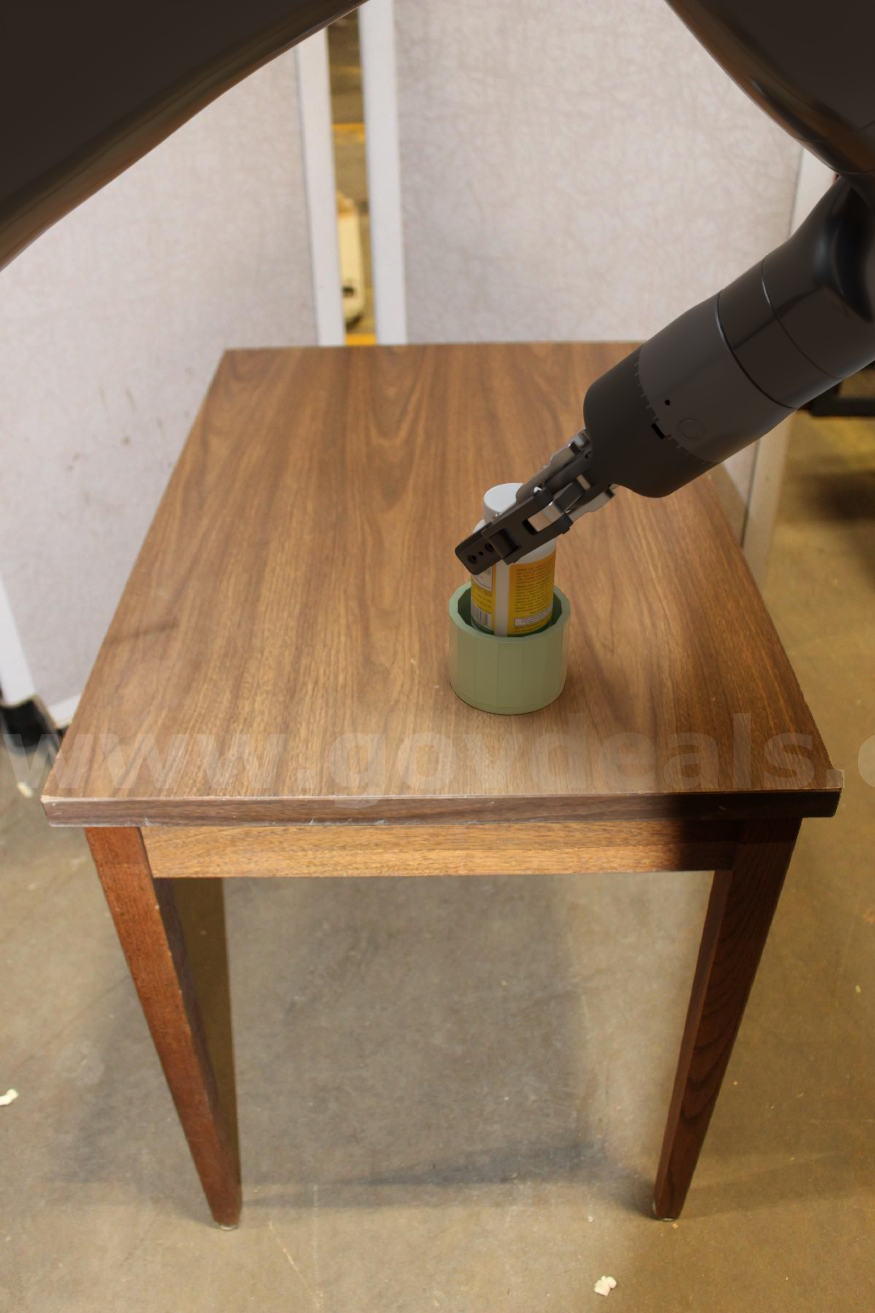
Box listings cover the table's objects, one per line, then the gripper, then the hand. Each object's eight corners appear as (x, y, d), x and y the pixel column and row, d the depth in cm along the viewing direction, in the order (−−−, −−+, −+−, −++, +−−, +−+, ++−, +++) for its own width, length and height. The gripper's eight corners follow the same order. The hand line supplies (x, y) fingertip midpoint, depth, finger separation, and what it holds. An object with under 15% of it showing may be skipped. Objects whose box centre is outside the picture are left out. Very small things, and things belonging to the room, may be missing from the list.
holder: (476, 727, 70) (477, 654, 66) (432, 658, 76) (431, 587, 72) (585, 697, 72) (592, 625, 68) (534, 632, 78) (538, 563, 74)
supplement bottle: (460, 640, 70) (459, 511, 64) (484, 597, 74) (485, 471, 68) (540, 655, 68) (546, 524, 62) (560, 610, 72) (568, 483, 66)
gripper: (693, 296, 60) (500, 447, 72) (597, 388, 50) (391, 546, 62) (770, 402, 62) (568, 533, 73) (692, 512, 52) (472, 643, 64)
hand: (488, 538), depth 68 cm, fingers closed on supplement bottle, 5 cm apart
